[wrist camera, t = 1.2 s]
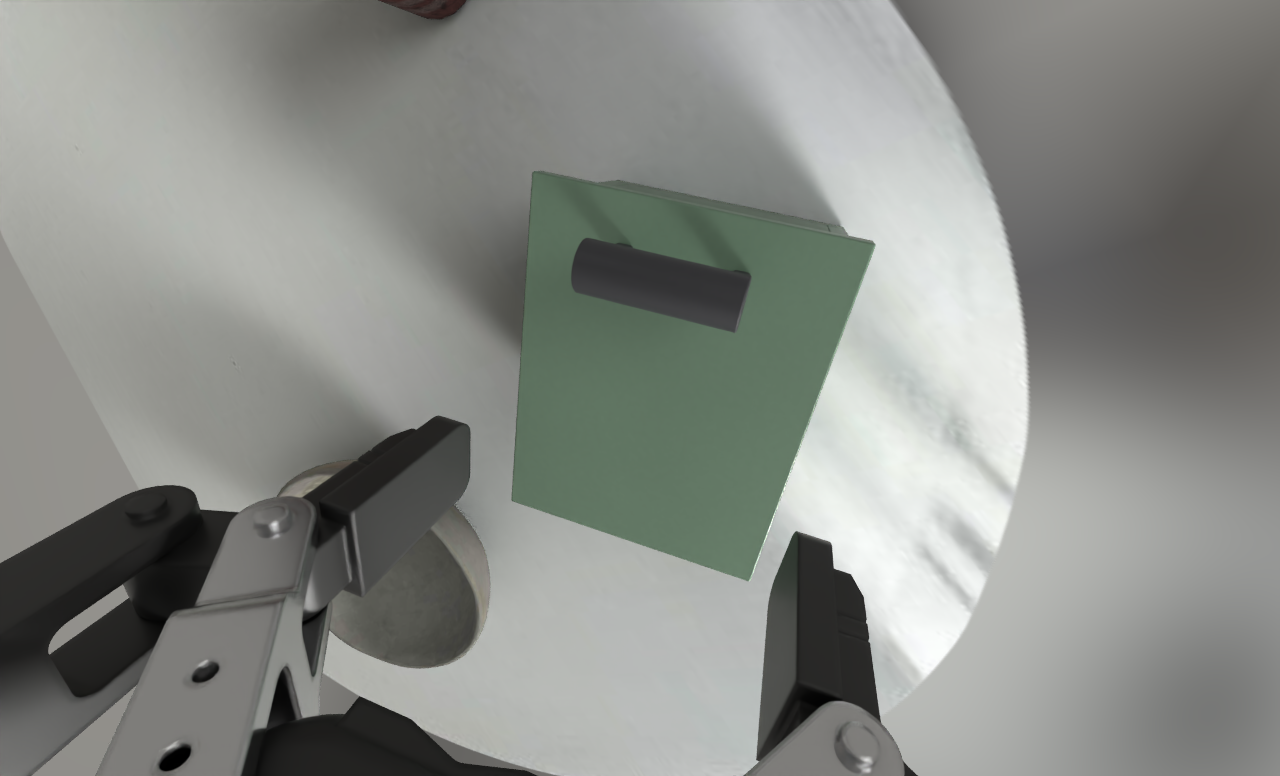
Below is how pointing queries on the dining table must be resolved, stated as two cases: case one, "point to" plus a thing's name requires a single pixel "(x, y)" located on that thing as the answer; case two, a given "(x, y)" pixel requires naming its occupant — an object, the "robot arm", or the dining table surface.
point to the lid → (672, 364)
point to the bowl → (415, 592)
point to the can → (428, 7)
